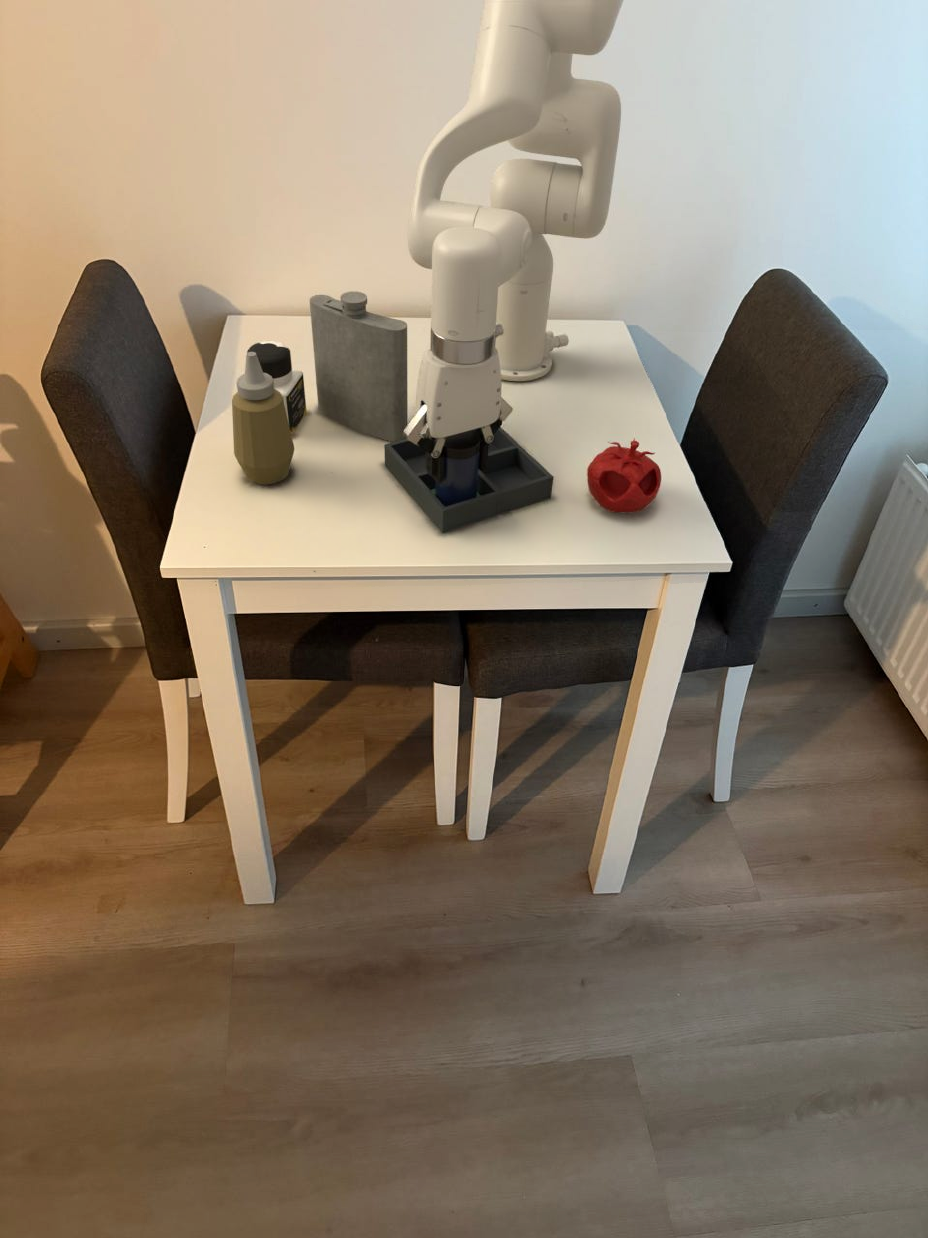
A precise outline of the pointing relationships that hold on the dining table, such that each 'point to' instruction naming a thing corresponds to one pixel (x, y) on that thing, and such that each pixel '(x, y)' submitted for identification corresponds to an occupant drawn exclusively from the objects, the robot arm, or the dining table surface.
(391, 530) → the dining table surface
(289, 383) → the medicine bottle
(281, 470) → the squeeze bottle
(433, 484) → the tray
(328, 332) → the hip flask
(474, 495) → the thermos
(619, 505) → the red hollow tomato
